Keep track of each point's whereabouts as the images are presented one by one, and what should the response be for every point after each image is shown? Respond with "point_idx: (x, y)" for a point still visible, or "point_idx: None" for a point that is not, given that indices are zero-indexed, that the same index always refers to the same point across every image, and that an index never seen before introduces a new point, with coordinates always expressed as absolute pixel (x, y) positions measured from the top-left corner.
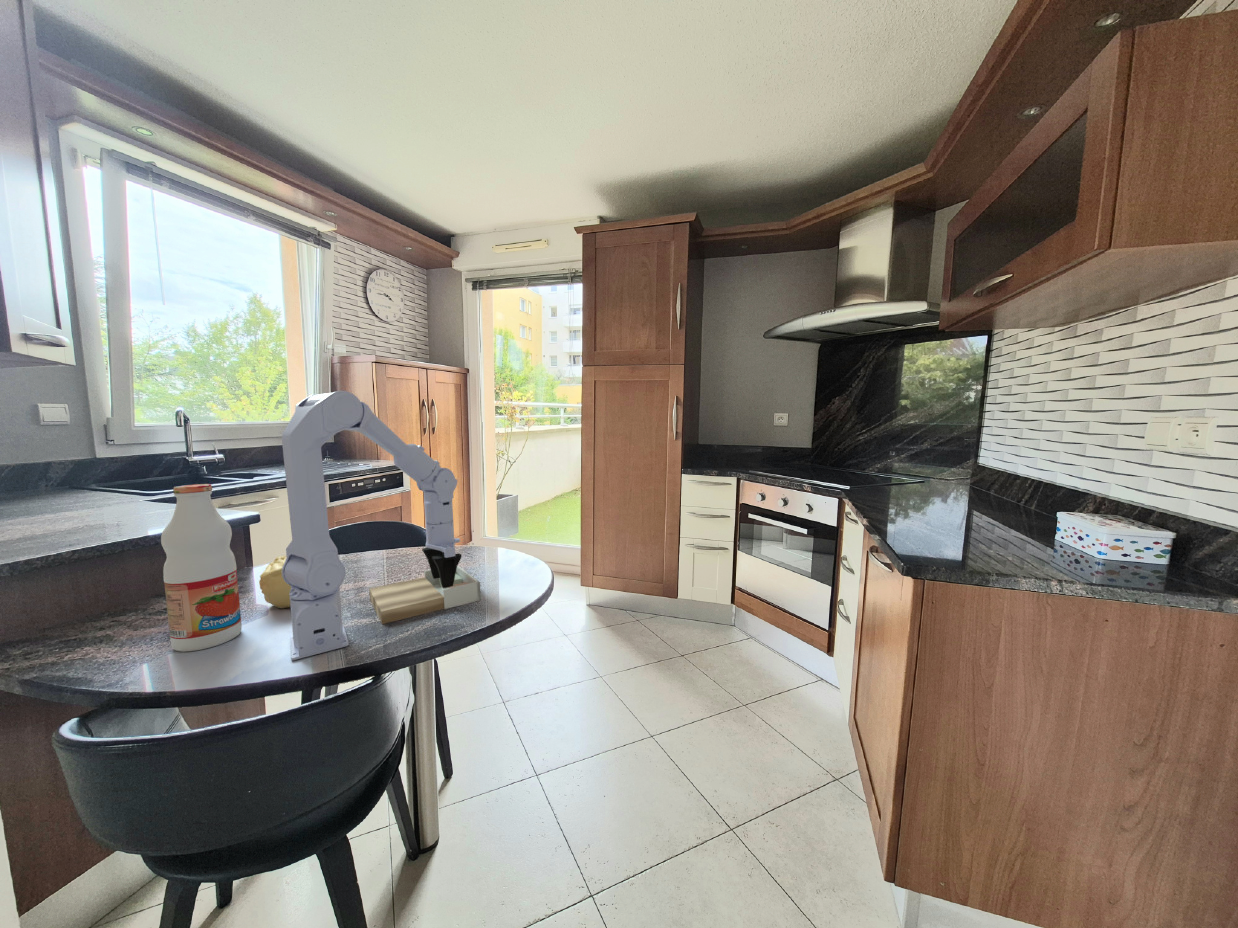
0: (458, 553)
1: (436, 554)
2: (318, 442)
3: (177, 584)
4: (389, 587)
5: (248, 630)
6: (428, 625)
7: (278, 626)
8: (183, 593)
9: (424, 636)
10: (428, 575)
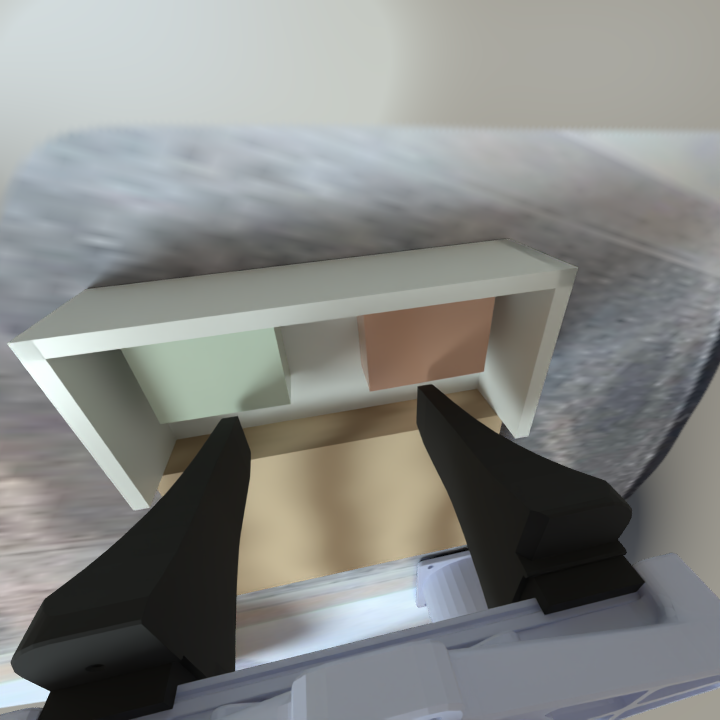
0: (549, 522)
1: (213, 592)
2: None
3: None
4: (250, 558)
5: (314, 651)
6: (562, 424)
7: (323, 630)
8: None
9: (615, 431)
10: (153, 471)
